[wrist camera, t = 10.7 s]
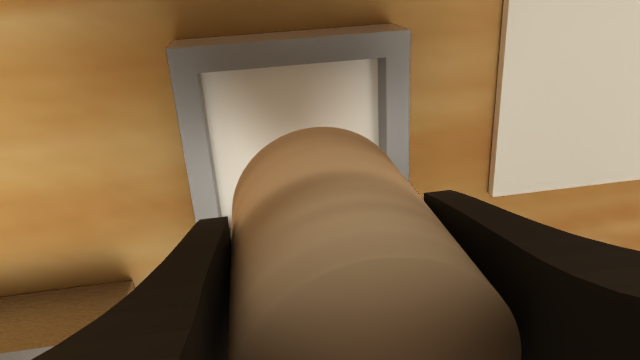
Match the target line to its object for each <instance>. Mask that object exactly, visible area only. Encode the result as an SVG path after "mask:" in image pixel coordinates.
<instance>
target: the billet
mask: <svg viewBox="0 0 640 360" xmlns="http://www.w3.org/2000/svg"><path fill="white" fill-rule="evenodd" d="M521 352H522V349H521V340H520V334H519V330H518V327H517V323H516V320H515V318H514V316H513V314H512V312H511V310H510V308H509V307H508V305H507V304H506V303H505V301H504V300H503V299H502V297H501V296H500V295H499V293H498V292H497V291H496V290H495V288H494V287H493V286H492V285H491V284H490V282H489V281H488V280H487V279H486V277H485V276H484V275H483V274H482V272H481V271H480V270H479V269H478V267H477V266H476V265H475V264H474V262H473V261H472V260H471V259H470V258H469V256H468V255H467V254H466V253H465V251H464V250H463V249H462V248H461V246H460V245H459V244H458V243H457V241H456V240H455V239H454V238H453V236H452V235H451V234H450V233H449V232H448V230H447V229H446V228H445V227H444V225H443V224H442V223H441V222H440V220H439V219H438V218H437V217H436V215H435V214H434V213H433V212H432V210H431V209H430V208H429V207H428V206H427V204H426V203H425V202H424V201H423V199H422V198H421V197H420V196H419V194H418V193H417V192H416V191H415V189H414V188H413V187H412V186H411V184H410V183H409V182H408V181H407V179H406V178H405V177H404V176H403V175H402V173H401V172H400V171H399V170H398V168H397V167H396V166H395V165H394V163H393V162H392V161H391V160H390V158H389V157H388V156H387V155H386V153H385V152H384V151H382V150H381V149H380V148H379V147H378V146H377V145H376V144H375V143H373V142H372V141H371V140H369V139H367V138H365V137H364V136H362V135H360V134H357V133H355V132H352V131H350V130H345V129H341V128H335V127H311V128H305V129H300V130H297V131H293V132H290V133H288V134H286V135H283V136H281V137H279V138H277V139H276V140H274V141H272V142H271V143H269V144H268V145H266V146H265V147H264V148H263V149H261V150H260V151H259V152H258V153H257V154H256V155H255V156H254V157H253V158H252V159H251V161H250V162H249V163H248V165H247V166H246V167H245V169H244V170H243V172H242V174H241V176H240V178H239V180H238V183H237V185H236V188H235V192H234V196H233V203H232V226H231V264H230V297H229V332H228V360H521Z"/></svg>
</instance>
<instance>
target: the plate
mask: <svg viewBox="0 0 640 360" xmlns="http://www.w3.org/2000/svg"><path fill="white" fill-rule="evenodd" d="M639 179H640V0H504V3H503V15H502V27H501V40H500V52H499V64H498V77H497V89H496V102H495V114H494V126H493V139H492V151H491V163H490V176H489V188H488V194H490V195H491V196H492V197H497V196H506V195H514V194H522V193H531V192H539V191H547V190H555V189H564V188H572V187H580V186H589V185H597V184H605V183H614V182H622V181H630V180H639Z"/></svg>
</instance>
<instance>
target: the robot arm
mask: <svg viewBox="0 0 640 360" xmlns="http://www.w3.org/2000/svg"><path fill="white" fill-rule="evenodd" d="M424 202H425V203H426V204H427V206H428V207H429V208H430V209H431V210H432V212H433V213H434V214H435V215H436V217H437V218H438V219H439V220H440V222H441V223H442V224H443V225H444V227H445V228H446V229H447V230H448V232H449V233H450V234H451V235H452V236H453V238H454V239H455V240H456V241H457V243H458V244H459V245H460V246H461V248H462V249H463V250H464V251H465V253H466V254H467V255H468V256H469V258H470V259H471V260H472V261H473V262H474V264H475V265H476V266H477V267H478V269H479V270H480V271H481V272H482V274H483V275H484V276H485V277H486V279H487V280H488V281H489V282H490V284H491V285H492V286H493V287H494V288H495V290H496V291H497V292H498V293H499V295H500V296H501V297H502V299H503V300H504V301H505V303H506V304H507V305H508V307H509V308H510V310H511V312H512V314H513V316H514V318H515V320H516V323H517V327H518V330H519V334H520V340H521V349H522V352H521V360H640V251H637V250H632V249H627V248H623V247H619V246H615V245H611V244H607V243H603V242H599V241H595V240H592V239H588V238H584V237H581V236H577V235H574V234H571V233H567V232H564V231H561V230H558V229H555V228H553V227H550V226H547V225H544V224H541V223H538V222H535V221H532V220H530V219H527V218H524V217H522V216H519V215H516V214H514V213H511V212H509V211H506V210H504V209H501V208H499V207H496V206H494V205H491V204H489V203H486V202H484V201H481V200H479V199H476V198H473V197H471V196H468V195H465V194H462V193H459V192H456V191H451V190H446V191H438V192H429V193H424ZM230 264H231V236H230V230H229V223H228V216H225V217H217V218H208V219H200V220H199V221H198V222H197V223H196V224H195V225H194V226H193V227H192V229H191V230H190V231H189V232H188V233H187V234H186V236H185V237H184V238H183V239H182V240H181V242H180V243H179V244H178V245H177V246H176V247H175V249H174V250H173V251H172V252H171V253H170V254H169V255H168V256H167V257H166V259H165V260H164V261H163V262H162V263H161V264H160V265H159V266H158V267H157V268H156V269H155V270H154V271H153V272H152V273H151V274H150V275H149V276H148V277H147V278H146V279H144V280H143V281H142V282H141V283H140V284H139V285H138V286H137V287H136V288H135V289H134V290H133V291H132V292H130V293H129V294H128V295H127V296H126V297H124V298H123V299H122V300H121V301H119V302H118V303H117V304H116V305H114V306H113V307H112V308H110V309H109V310H108V311H107V312H105V313H104V314H103V315H101V316H100V317H98V318H97V319H96V320H94V321H93V322H91V323H90V324H88V325H87V326H85V327H83V328H82V329H80V330H79V331H77V332H76V333H74V334H73V335H71V336H70V337H68V338H67V339H65V340H64V341H62V342H61V343H59V344H57V345H56V346H54V347H52V348H51V349H49V350H47V351H45V352H44V353H42V354H40V355H38V356H37V357H35V358H33V359H31V360H228V332H229V297H230Z"/></svg>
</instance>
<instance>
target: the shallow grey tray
mask: <svg viewBox="0 0 640 360" xmlns="http://www.w3.org/2000/svg"><path fill="white" fill-rule="evenodd" d="M410 40H411V30H410V29H407V28H404V27H401V26H398V25H395V24H392V23H389V24H376V25H363V26H350V27H337V28H324V29H310V30H297V31H284V32H271V33H258V34H245V35H232V36H219V37H206V38H193V39H180V40H174V41H173V42H172V43H171V44H170V45H169V46H168V47H167V48H166V54H167V60H168V66H169V71H170V77H171V83H172V89H173V94H174V100H175V106H176V112H177V117H178V123H179V129H180V135H181V140H182V146H183V152H184V158H185V163H186V169H187V175H188V181H189V187H190V192H191V198H192V204H193V210H194V215H195V221H196V223H197V222H198V221H199V220H200V219H208V218H217V217H225V216H228V223H229V230H230V236H231V226H232V203H233V196H234V192H235V188H236V185H237V183H238V180H239V178H240V176H241V174H242V172H243V170H244V169H245V167H246V166H247V165H248V163H249V162H250V161H251V159H252V158H253V157H254V156H255V155H256V154H257V153H258V152H259V151H260V150H261V149H263V148H264V147H265V146H266V145H268V144H269V143H271V142H272V141H274V140H276V139H277V138H279V137H281V136H283V135H286V134H288V133H290V132H293V131H297V130H300V129H305V128H311V127H335V128H341V129H345V130H350V131H352V132H355V133H357V134H360V135H362V136H364V137H365V138H367V139H369V140H371V141H372V142H373V143H375V144H376V145H377V146H378V147H379V148H380V149H381V150H382V151H384V152H385V153H386V155H387V156H388V157H389V158H390V160H391V161H392V162H393V163H394V165H395V166H396V167H397V168H398V170H399V171H400V172H401V173H402V175H403V176H404V177H405V178H406V179H407V181H408V182H409V118H410Z"/></svg>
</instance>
